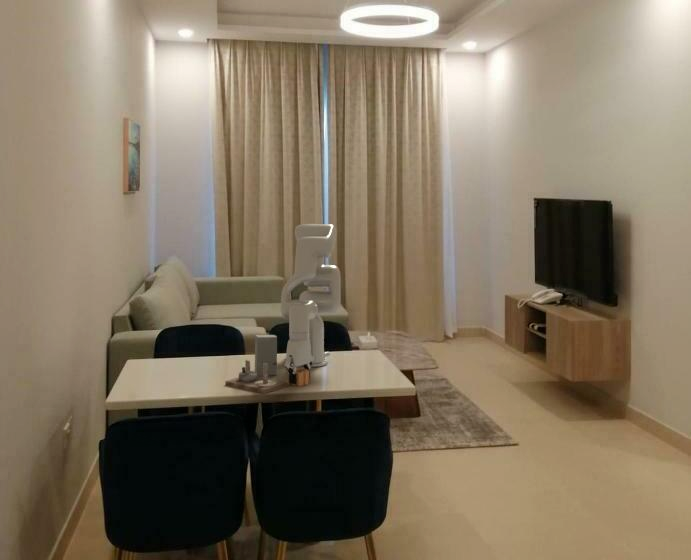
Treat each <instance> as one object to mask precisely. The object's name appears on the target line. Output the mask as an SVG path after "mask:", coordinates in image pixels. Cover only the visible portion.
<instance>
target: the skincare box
mask: <svg viewBox="0 0 691 560" xmlns="http://www.w3.org/2000/svg"><path fill="white" fill-rule="evenodd" d="M254 339H255V340H254V372H257V376H260V377H263V363H267V364H268V377H269V376H278V375H277V373H278V372H277V371H278V365H277V363H278V336H277V335H275V334H254Z"/></svg>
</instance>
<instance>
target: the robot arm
mask: <svg viewBox="0 0 691 560" xmlns="http://www.w3.org/2000/svg"><path fill="white" fill-rule="evenodd" d="M337 231H338V230H337V228H336V226H335V225H334V224H328V223H327V224H326V223H324V224H321V223H319V224H318V223H317V224H316V223H305V224H304V223H303V224H298V225H297V226H295V229H294V237H295V239H296V247H295V260H294V273H293V275H292V276H291V277H290V278H289V279H288V280H287V281H286V283H285V284H284V286H283V288H282V292H281V295H280V298H281V299H280V315H281V316H282V318H283V319H285V320H289V321H288V322H289V323H288V325H289V328H288V330H289V331H288V332H289V334H288V337H289V339H288V341H287V344H286V345H287V346H286V356H285V360H286V361H285V363H284V365H283V366H284V369H285V370H286V371H287V373H288V384H290V383H291V384H290V385H292V384H296V374H295V372H296V369H297V368H300V367H301V366H302V368H303V369H307V370H309V381H310V380H311V372H310V371H311V369H312V368H315V367H317V368H319V367H323V366H327V364H328V360H327V359H326V357H330V355H331V353H330V352H329V351H325V347H324V346H325V341H324V339H325V327H324V325H325V324H324V320H323V318H322V317H321V316H320V315H319V314H337V313H338V312H340V309H341V302H342V301H341V299H342V298H341V294H342V293H341V292H342V291H341V290H342V289H341V288H342V287H341V286H342V285H341V284H342V283H341V282H342V281H341V279H342V278H341V271H340V268H339V266H336V265H332V264H324V259H325V258H330V257H332V255H333V253H334V249H335V245H336V242H337V237H338V235H337V234H338V232H337ZM301 283H304V285H305V286H308V288H326V289H327V288H328V289H329V290H320V289H319V290H316V289H315V290H311V289H309V291H304V292H303V293H301V295H300V297H299V300H291V299H290V296H291V291H292V290H293V289H294V288H295V287H296V286H298V285H299V284H301Z"/></svg>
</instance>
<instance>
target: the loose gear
mask: <svg viewBox="0 0 691 560" xmlns="http://www.w3.org/2000/svg"><path fill="white" fill-rule="evenodd" d="M309 370H310V369H309ZM309 370H307V369H304V368H300V367H297V369H296V372H295V374H296V384H291V383H289V385H291V386H294V387H295V386H298V387H302V386H308V385H309V384H310V380H309Z"/></svg>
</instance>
